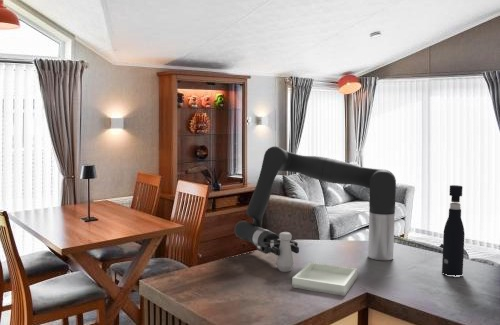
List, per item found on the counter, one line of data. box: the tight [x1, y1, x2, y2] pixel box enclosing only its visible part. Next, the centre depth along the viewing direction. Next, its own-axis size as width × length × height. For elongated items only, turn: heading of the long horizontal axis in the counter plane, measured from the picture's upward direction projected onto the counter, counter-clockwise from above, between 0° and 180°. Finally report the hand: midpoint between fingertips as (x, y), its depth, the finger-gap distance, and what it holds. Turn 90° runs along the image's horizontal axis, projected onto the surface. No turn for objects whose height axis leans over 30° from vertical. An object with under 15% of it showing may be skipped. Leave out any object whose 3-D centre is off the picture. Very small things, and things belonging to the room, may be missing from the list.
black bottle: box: [441, 184, 465, 276], centre depth 151 cm, size 6×6×30 cm
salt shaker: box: [276, 231, 294, 273], centre depth 155 cm, size 6×6×13 cm
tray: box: [291, 261, 358, 297], centre depth 143 cm, size 18×16×3 cm
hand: (288, 251), depth 153 cm, fingers open, 6 cm apart
